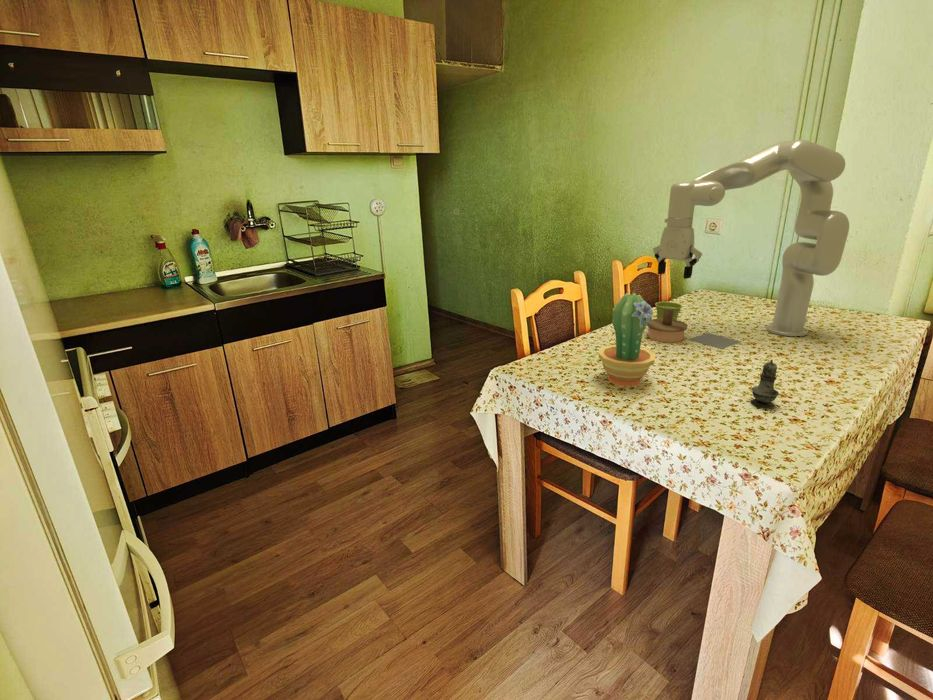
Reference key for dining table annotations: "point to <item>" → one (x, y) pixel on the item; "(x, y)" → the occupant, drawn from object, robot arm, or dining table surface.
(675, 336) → the bowl
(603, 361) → the potted cactus
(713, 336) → the mat
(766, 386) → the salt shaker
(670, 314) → the lid
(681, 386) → the dining table surface
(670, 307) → the plant pot
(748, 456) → the dining table surface
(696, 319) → the dining table surface
